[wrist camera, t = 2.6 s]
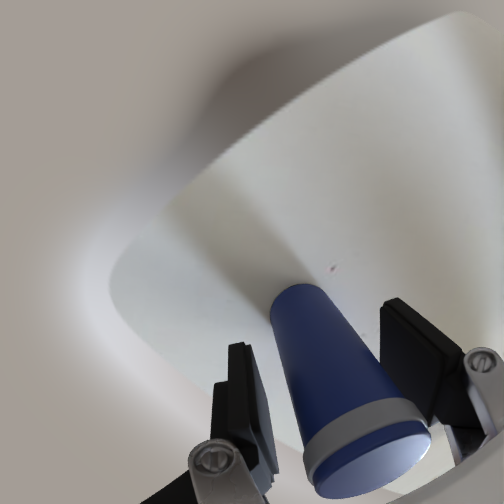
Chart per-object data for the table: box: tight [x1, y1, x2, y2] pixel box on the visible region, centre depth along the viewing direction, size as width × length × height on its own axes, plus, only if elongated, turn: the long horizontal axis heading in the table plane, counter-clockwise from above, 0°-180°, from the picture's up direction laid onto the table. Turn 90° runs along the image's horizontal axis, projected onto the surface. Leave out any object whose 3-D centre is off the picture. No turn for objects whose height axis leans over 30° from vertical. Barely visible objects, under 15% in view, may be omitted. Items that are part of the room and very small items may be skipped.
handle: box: [270, 284, 431, 499], centre depth 9 cm, size 3×3×9 cm
